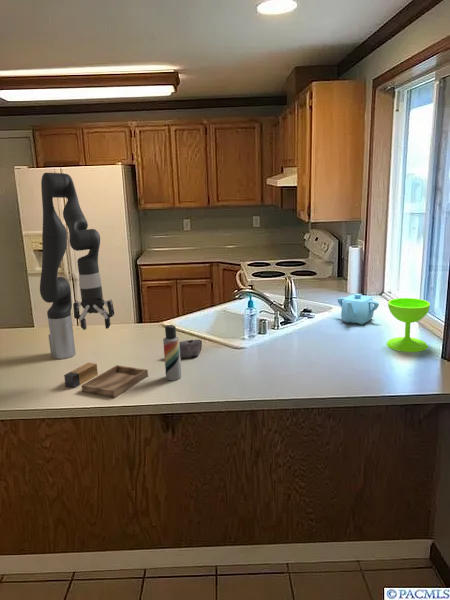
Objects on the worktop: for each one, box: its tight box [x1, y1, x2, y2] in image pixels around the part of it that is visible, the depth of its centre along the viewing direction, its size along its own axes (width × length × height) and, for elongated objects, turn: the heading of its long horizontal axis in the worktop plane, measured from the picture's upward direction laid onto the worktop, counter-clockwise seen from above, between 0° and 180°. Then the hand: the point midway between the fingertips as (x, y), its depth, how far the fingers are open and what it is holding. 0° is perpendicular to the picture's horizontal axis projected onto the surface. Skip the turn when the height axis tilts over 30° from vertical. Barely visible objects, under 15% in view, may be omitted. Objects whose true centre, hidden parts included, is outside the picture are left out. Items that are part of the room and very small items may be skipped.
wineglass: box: [386, 297, 431, 353], centre depth 207 cm, size 16×16×18 cm
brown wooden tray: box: [81, 364, 149, 399], centre depth 184 cm, size 14×20×2 cm
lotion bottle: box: [162, 324, 183, 381], centre depth 185 cm, size 6×6×20 cm
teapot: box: [337, 293, 380, 326], centre depth 242 cm, size 18×16×14 cm
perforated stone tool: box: [179, 339, 203, 359], centre depth 207 cm, size 15×5×7 cm, turn 96°
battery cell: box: [63, 362, 99, 389], centre depth 188 cm, size 4×14×4 cm, turn 154°
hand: (96, 328), depth 187 cm, fingers open, 8 cm apart
